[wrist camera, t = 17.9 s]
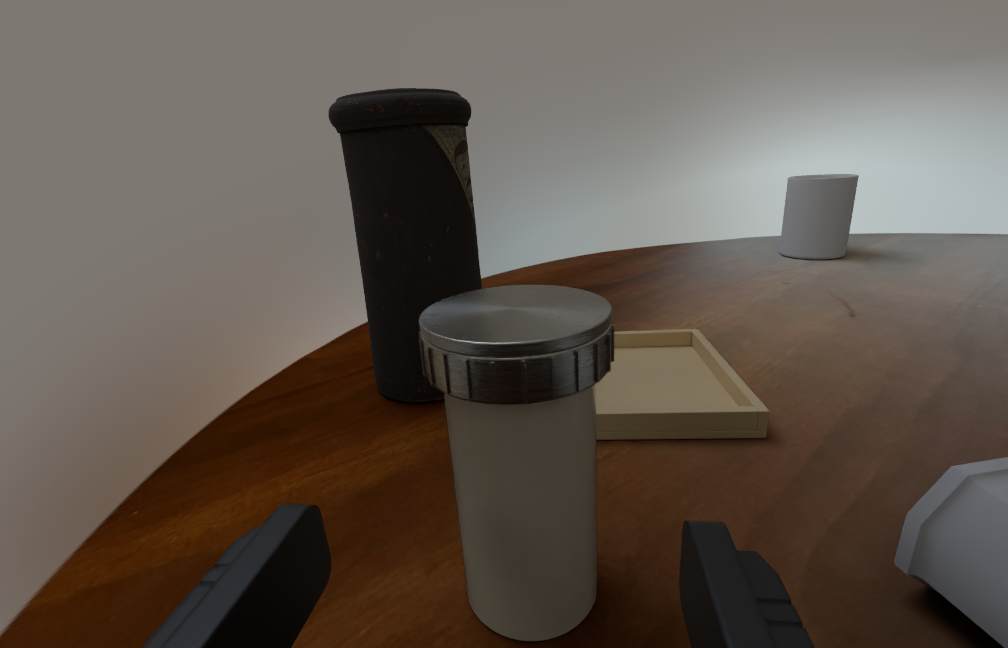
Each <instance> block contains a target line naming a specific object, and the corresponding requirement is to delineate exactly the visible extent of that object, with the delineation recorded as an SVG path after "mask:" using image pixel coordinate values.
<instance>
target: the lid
mask: <svg viewBox="0 0 1008 648" xmlns="http://www.w3.org/2000/svg"><path fill="white" fill-rule="evenodd" d="M419 326H420V331H419V338H420V339H419V344H420V352H421V359H422V367H423V375H424V377H425V376H427V378H428V380H429V381H430V383H431V386H434V387H435V388H437V389H438V390H440V391H441V392H443V393H445V394H447V395H449V396H452V397H455V398H458V399H462V400H466V401H470V402H476V403H483V404H491V405H519V404H532V403H533V404H535V403H540V402H546V401H551V400H556V399H560V398H564V397H567V396H571V395H574V394H576V393H579V392H581V391H583V390H586V389H588V388H590V387H591V386H593V385H595V384H596V383H598V382H600V380H601V379H603V377H604V376H605V375H606V374H607V373H608V372H610V371H611V362H614V324H612V308H611V305H610V304H609V302H608V301H607V300H606V299H604V298H603V297H601V296H599V295H597V294H594V293H592V292H588V291H585V290H581V289H576V288H570V287H563V286H552V285H514V286H501V287H493V288H486V289H480V290H474V291H470V292H465V293H461V294H458V295H454V296H451V297H448V298H446V299H443V300H441V301H438V302H436V303H434V304H433V305H431V306H429V307H428V308H426V309H425V310H424V311H423V312H422V314H421V315H420V318H419Z"/></svg>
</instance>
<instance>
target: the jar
mask: <svg viewBox="0 0 1008 648" xmlns="http://www.w3.org/2000/svg"><path fill="white" fill-rule="evenodd" d="M443 396H444V405H445V413H446V422H447V430H448V438H449V447H450V455H451V464H452V472H453V480H454V489H455V497H456V506H457V514H458V522H459V531H460V539H461V547H462V556H463V564H464V573H465V581H466V589H467V596H468V600H469V603H470V605H471V607H472V609H473V611H474V613H475V614H476V615H477V617H478V618H479V619H480V620H481V621H482V622H483V623H484V624H485V625H486V626H487V627H489V628H490V629H491V630H493V631H494V632H496V633H498V634H500V635H502V636H505V637H508V638H511V639H515V640H520V641H542V640H548V639H552V638H555V637H558V636H561V635H563V634H565V633H567V632H569V631H570V630H572V629H574V628H575V627H576V626H577V625H579V624H580V623H581V622H582V621H583V620H584V619H585V617H586V616H587V615H588V613H589V612H590V610H591V608H592V606H593V604H594V602H595V599H596V595H597V416H596V384H595V385H593V386H591V387H590V388H588V389H586V390H583V391H581V392H579V393H576V394H574V395H571V396H567V397H564V398H560V399H556V400H551V401H546V402H540V403H535V404H533V403H532V404H519V405H491V404H483V403H476V402H470V401H466V400H462V399H458V398H455V397H452V396H449V395H447V394H445V393H443Z"/></svg>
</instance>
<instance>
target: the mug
mask: <svg viewBox="0 0 1008 648" xmlns="http://www.w3.org/2000/svg"><path fill="white" fill-rule="evenodd" d="M857 181H858V175H853V174H830V175H807V176H795V177H790V178H788V184H787V192H786V200H785V209H784V217H783V226H782V235H781V242H780V253H781V254H782V255H784V256H788V257H792V258H799V259H817V260H821V259H835V258H840V257H843V256H844V255H845V253H846V249H847V243H848V236H849V230H850V224H851V218H852V212H853V206H854V200H855V193H856V187H857Z"/></svg>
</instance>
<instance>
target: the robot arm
mask: <svg viewBox="0 0 1008 648" xmlns="http://www.w3.org/2000/svg"><path fill="white" fill-rule="evenodd" d="M330 571H331V555H330V551H329V546H328V542H327V538H326V533H325V529H324V525H323V520H322V516H321V512H320V510H319V508H318V507H317V506H316V505H303V504H282V505H280V506H279V507H278V508H277V509H276V510H275V511H274V512H273V513H272V515H271V516H270V517H269V518H268V519H267V521H266V522H265V523H264V524H263V525H262V526H261V527H255V528H254V529H252V530H251V531H250V532H248V533H247V534H245V535H244V536H243V537H241V538H240V539H238V540H237V541H236V542H234V543H233V544H232V545H231V546H230V547H229V548H228V550H227V551H226V552H225V553H224V554H223V555H222V556H221V558H220V559H219V560H218V561H217V562H216V563H215V567H214V568H211V569H210V570H209V571H208V572H207V573H206V575H205V576H204V577H203V578H202V579H201V580H200V584H199V585H196V586H195V587H194V588H193V589H192V591H191V592H190V593H189V594H188V595H187V596H186V597H185V599H184V600H183V601H182V602H181V603H180V604H179V605H178V607H177V608H176V609H175V610H174V611H173V612H172V613H171V615H170V616H169V617H168V618H167V619H166V620H165V621H164V623H163V624H162V625H161V626H160V627H159V628H158V629H157V631H156V632H155V633H154V634H153V635H152V636H151V637H150V639H149V640H148V641H147V642H146V643H145V644H144V645H143V646H142V648H291V647H292V645H293V643H294V642H295V640H296V638H297V636H298V635H299V633H300V631H301V629H302V628H303V626H304V624H305V622H306V621H307V619H308V617H309V615H310V614H311V612H312V610H313V608H314V607H315V605H316V603H317V601H318V600H319V598H320V596H321V594H322V593H323V591H324V589H325V587H326V585H327V583H328V580H329V576H330ZM679 585H680V598H681V605H682V611H683V615H684V619H685V624H686V628H687V632H688V636H689V640H690V644H691V648H814V646H813V644H812V642H811V640H810V638H809V636H808V633H807V631H806V629H805V628H803V626H802V621H801V619H800V617H799V615H798V613H797V611H796V609H795V607H794V606H793V605H792V604H791V599H790V597H789V595H788V593H787V591H786V589H785V587H784V585H783V583H782V581H781V579H780V577H779V575H778V573H777V572H776V571H775V570H774V569H773V568H772V567H771V566H770V565H769V564H768V563H767V562H766V561H765V560H764V559H763V558H762V557H761V556H760V555H759V554H758V553H757V552H755V551H737V550H736V548H735V546H734V543H733V541H732V538H731V536H730V534H729V531H728V529H727V527H726V525H725V524H724V523H723V522H710V521H684V523H683V530H682V546H681V561H680V577H679Z"/></svg>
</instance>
